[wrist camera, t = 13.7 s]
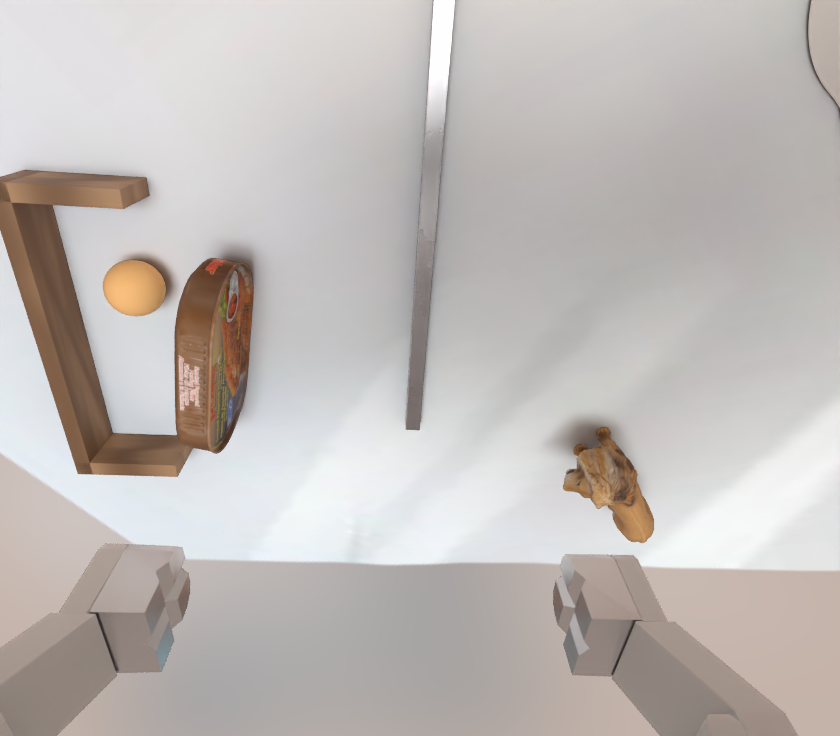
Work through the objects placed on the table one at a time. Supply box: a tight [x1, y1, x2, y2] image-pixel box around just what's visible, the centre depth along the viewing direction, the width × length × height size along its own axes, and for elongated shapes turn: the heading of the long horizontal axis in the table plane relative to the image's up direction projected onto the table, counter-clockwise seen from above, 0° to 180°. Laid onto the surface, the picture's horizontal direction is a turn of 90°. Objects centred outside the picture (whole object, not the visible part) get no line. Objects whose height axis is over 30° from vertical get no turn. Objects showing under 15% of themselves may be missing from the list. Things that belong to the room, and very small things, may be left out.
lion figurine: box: [563, 427, 654, 543], centre depth 47 cm, size 15×5×9 cm, turn 41°
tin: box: [175, 258, 253, 454], centre depth 39 cm, size 15×3×8 cm, turn 168°
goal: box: [0, 170, 193, 477], centre depth 40 cm, size 8×23×4 cm, turn 176°
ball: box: [103, 260, 166, 316], centre depth 39 cm, size 4×4×4 cm
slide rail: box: [406, 0, 455, 430], centre depth 39 cm, size 1×32×1 cm, turn 177°
